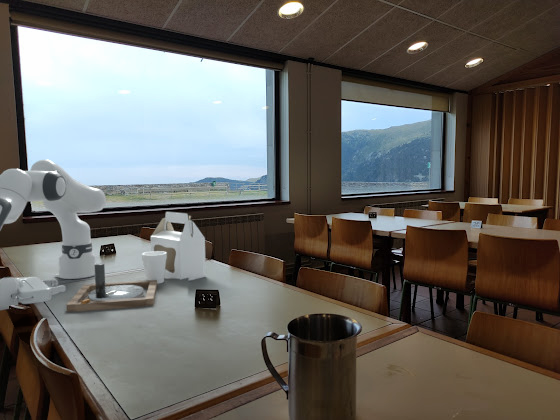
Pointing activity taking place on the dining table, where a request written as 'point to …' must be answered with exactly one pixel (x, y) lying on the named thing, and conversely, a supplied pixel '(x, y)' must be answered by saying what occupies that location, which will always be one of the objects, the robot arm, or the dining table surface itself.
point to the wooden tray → (86, 305)
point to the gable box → (180, 247)
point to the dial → (112, 288)
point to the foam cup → (154, 265)
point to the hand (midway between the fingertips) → (61, 285)
